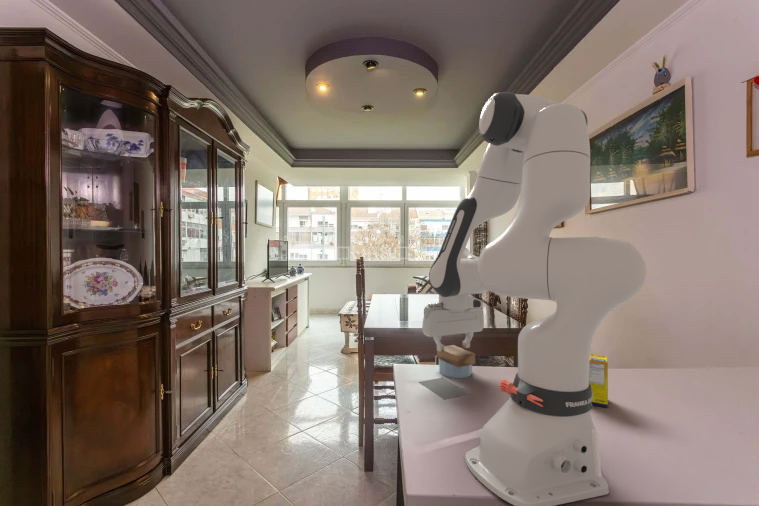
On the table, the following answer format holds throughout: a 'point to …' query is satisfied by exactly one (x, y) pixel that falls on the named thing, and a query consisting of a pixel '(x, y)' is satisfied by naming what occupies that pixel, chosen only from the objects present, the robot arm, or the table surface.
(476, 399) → the table surface
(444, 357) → the tan rectangular sponge
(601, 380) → the supplement box
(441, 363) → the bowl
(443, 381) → the mat
